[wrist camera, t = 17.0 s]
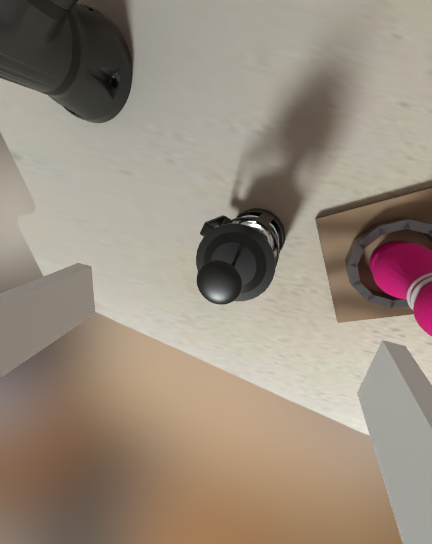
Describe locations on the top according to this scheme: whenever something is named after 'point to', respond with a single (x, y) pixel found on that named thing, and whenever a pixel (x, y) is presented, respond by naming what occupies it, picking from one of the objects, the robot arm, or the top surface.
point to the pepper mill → (406, 276)
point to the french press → (238, 256)
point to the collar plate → (368, 249)
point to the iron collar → (367, 238)
